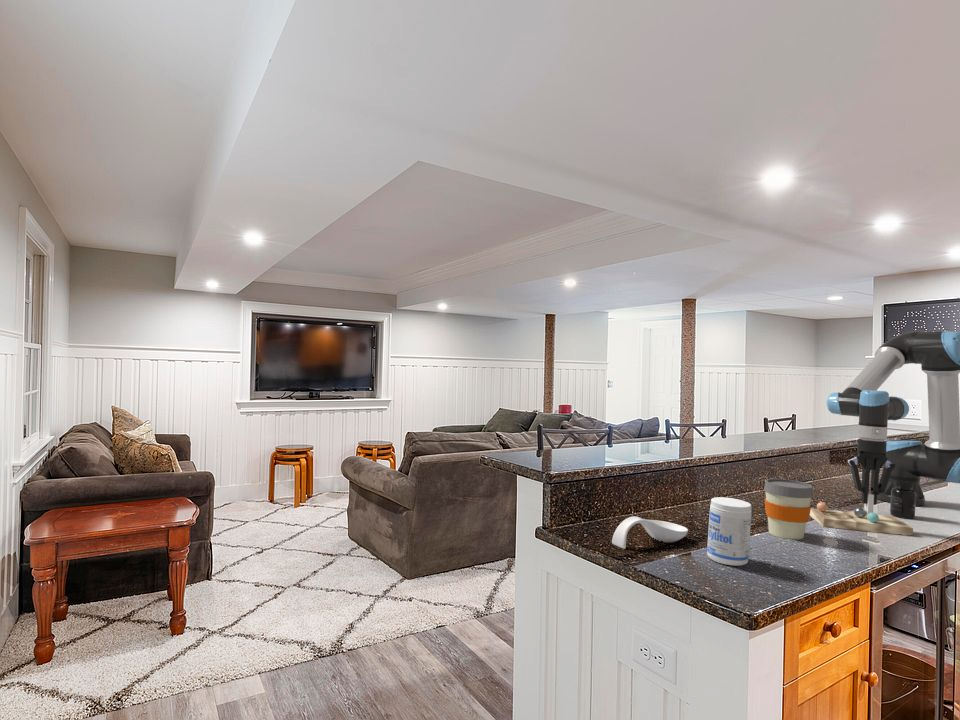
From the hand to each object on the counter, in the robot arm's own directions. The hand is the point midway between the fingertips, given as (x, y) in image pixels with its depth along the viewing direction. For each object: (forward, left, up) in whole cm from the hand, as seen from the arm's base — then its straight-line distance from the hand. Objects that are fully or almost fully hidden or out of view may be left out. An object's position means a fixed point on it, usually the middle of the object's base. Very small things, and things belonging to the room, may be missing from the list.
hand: (868, 514), depth 177 cm
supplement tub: (+50, +50, -4) cm, 70 cm away
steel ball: (+2, 0, 0) cm, 2 cm away
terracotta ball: (+12, -3, 0) cm, 13 cm away
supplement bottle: (-17, -19, -4) cm, 26 cm away
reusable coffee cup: (+29, +20, -4) cm, 35 cm away
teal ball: (+1, +5, 0) cm, 5 cm away
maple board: (+3, 0, -4) cm, 5 cm away
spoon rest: (+68, +42, -4) cm, 80 cm away
